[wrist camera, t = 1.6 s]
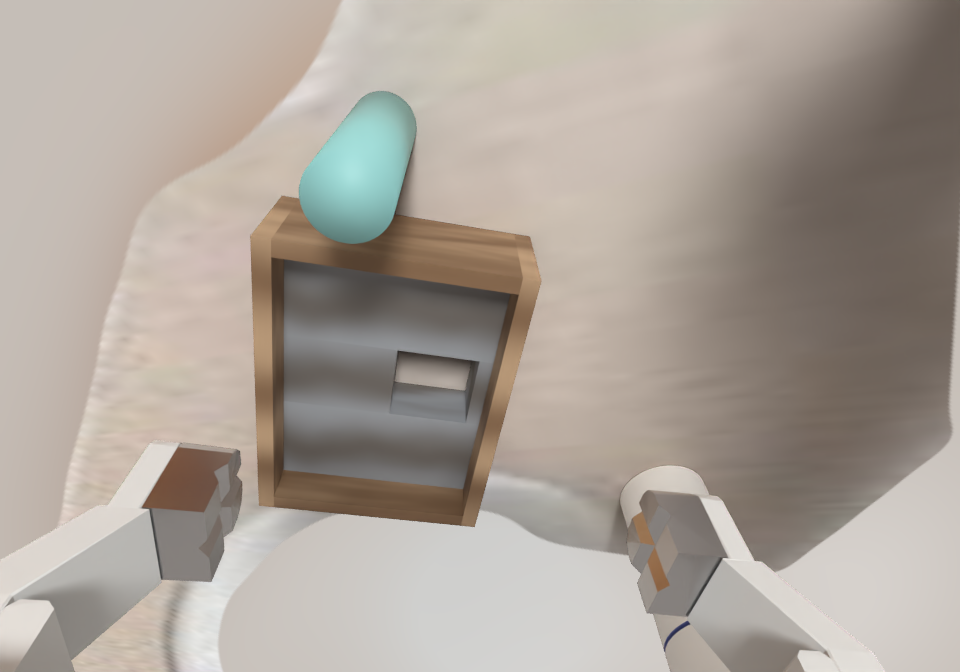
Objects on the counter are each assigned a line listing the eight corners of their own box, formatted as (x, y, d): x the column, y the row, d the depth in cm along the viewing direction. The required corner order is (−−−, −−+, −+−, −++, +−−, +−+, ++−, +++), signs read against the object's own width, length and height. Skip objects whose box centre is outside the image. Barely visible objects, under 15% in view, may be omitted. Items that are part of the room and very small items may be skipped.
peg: (353, 85, 30) (299, 142, 20) (420, 97, 31) (400, 160, 21) (349, 152, 32) (298, 235, 22) (412, 163, 33) (390, 250, 23)
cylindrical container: (669, 452, 46) (847, 862, 25) (721, 492, 48) (921, 892, 27) (602, 499, 49) (711, 903, 27) (655, 534, 51) (791, 927, 30)
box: (281, 196, 34) (250, 236, 29) (529, 236, 35) (541, 281, 30) (282, 444, 44) (258, 505, 39) (473, 465, 46) (474, 526, 41)
